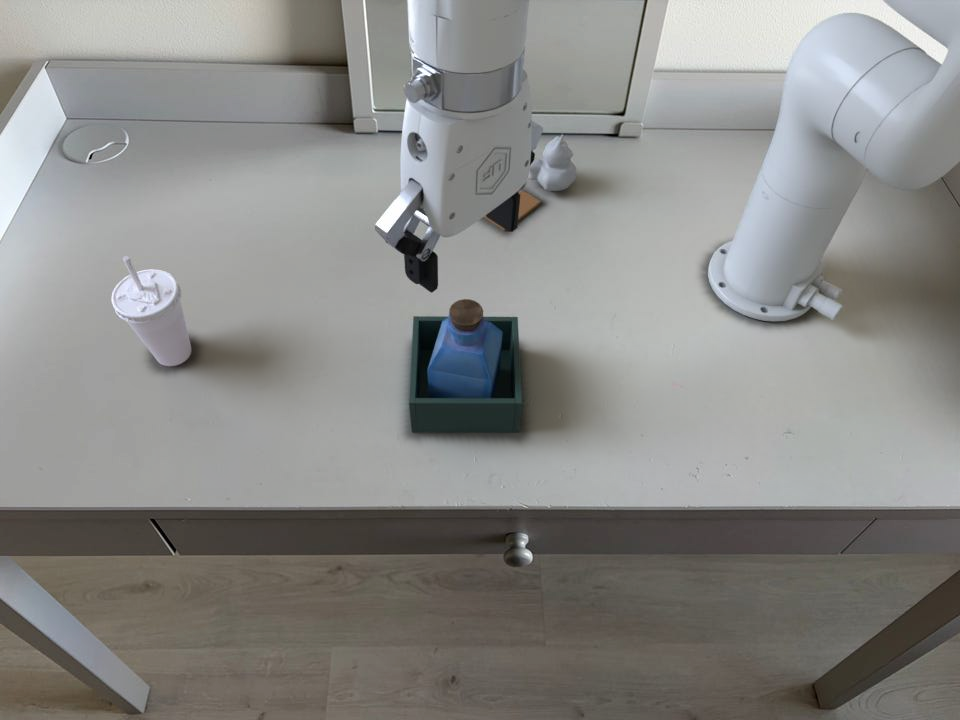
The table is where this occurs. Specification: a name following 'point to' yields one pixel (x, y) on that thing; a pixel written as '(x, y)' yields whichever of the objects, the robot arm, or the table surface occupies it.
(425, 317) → the bin
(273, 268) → the table surface
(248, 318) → the table surface
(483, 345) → the perfume bottle
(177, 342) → the smoothie
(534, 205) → the mat
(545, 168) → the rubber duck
